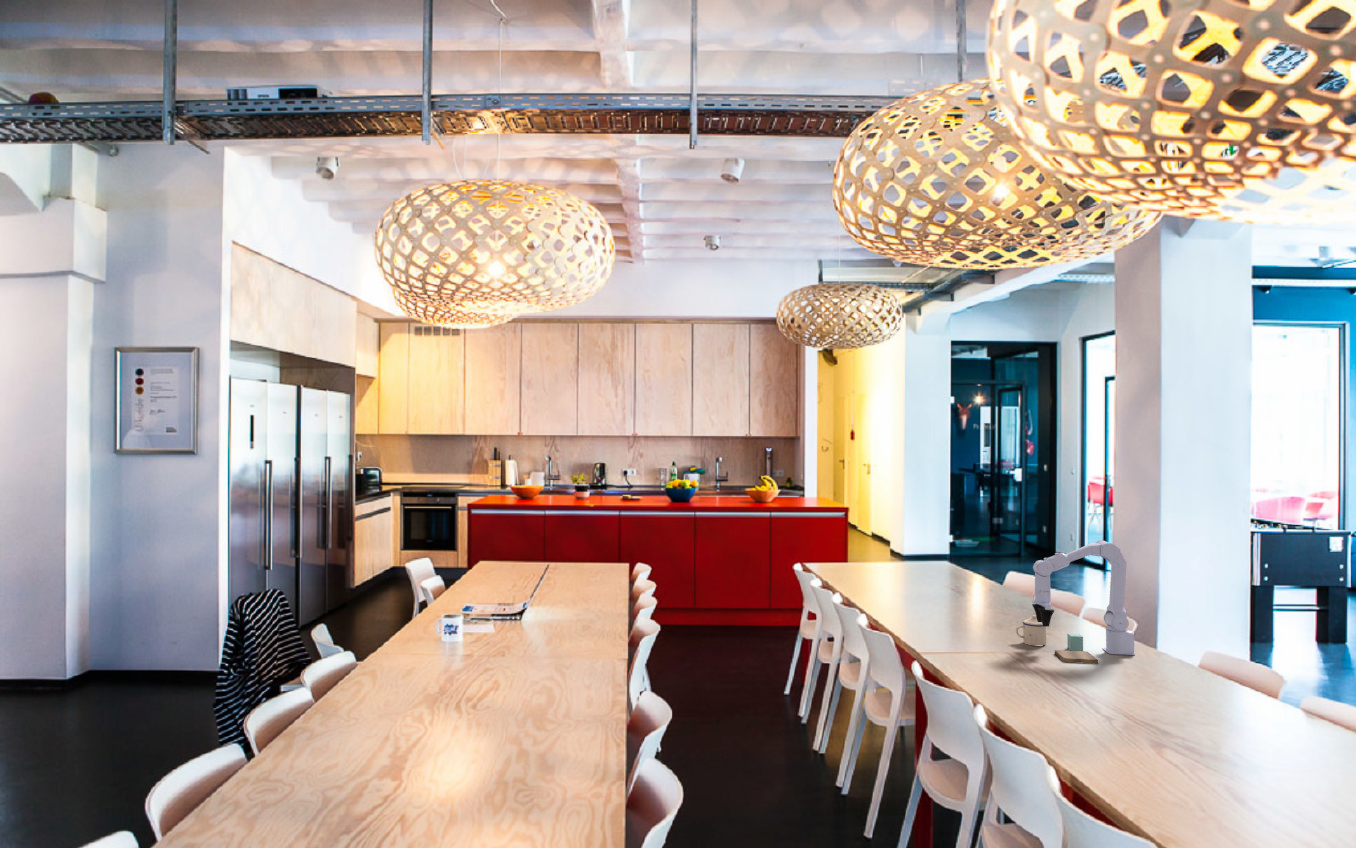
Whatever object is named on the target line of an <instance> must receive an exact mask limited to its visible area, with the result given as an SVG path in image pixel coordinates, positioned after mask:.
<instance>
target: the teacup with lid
mask: <svg viewBox="0 0 1356 848" xmlns="http://www.w3.org/2000/svg"><path fill="white" fill-rule="evenodd" d="M1021 628H1022V629H1023V630H1022V631H1023V632H1022V633H1023V635H1020V633H1019V629H1021ZM1015 634H1016V635H1017V637H1019V638H1021V639H1023V644H1025V645H1027V644H1028V645H1027V646H1030V645H1045V646H1046V645H1047V627H1045V626H1043V624H1042V622H1038V621H1037V617H1036V614H1035V615H1034V614H1033V615H1031V617H1029V618H1028V619H1024V620H1023V621H1022V625H1018V626H1017V627H1016V628H1015Z"/></svg>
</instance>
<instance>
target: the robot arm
mask: <svg viewBox="0 0 1356 848" xmlns="http://www.w3.org/2000/svg"><path fill="white" fill-rule="evenodd" d="M1089 556H1095V557H1101V558H1103V559H1105V560H1106V561H1107V562H1108V563H1109V565H1111V568H1110V582H1109V583H1110V585H1109V604H1108V605H1107V607H1106V611H1105V613H1104V615H1103V621H1104V623H1105V624H1106V626H1105V647H1102V648H1101V649H1102V650H1103V651H1105V652H1106V653H1107V654H1108V655H1122V656H1123V655H1126V656H1127V655H1128V656H1135V655H1136V653H1135V637H1134V633H1133V631H1132V630H1129V629H1128V628H1129V625H1130V623H1129V622H1130V621H1129V620H1128V616H1127V613H1128V612H1127V611H1126V608H1125V599H1126V581H1127V580H1126V579H1127V578H1126V577H1127V560H1126V559H1125V556H1124V555H1123V553H1122V552H1121V548H1119V546H1117V545H1115V544H1114V543H1111V542H1108V541H1105V540H1097V541H1093V542H1091V543H1089V544H1086V545H1084V546H1082V547H1080V548H1077V549H1075V550H1072V551H1071V552H1068V553H1063V552H1055V553H1054V555H1052V556H1049V557H1044V558H1043V560H1042V559H1040V560H1036V561H1035V563H1033V566H1032V569H1033V572H1034V600H1031V603H1032V604H1031V605H1032V608H1033V610H1034V611H1035V616H1036V617H1037V621H1038V622H1042V624H1043V626H1045V627H1046V628H1047V627H1048V628H1049V627H1050V624H1051V621H1052V620H1051V619H1052V616H1053V614H1054V612H1055V609H1052V608H1051V607H1052V606H1051V605H1052V599H1051V598H1052V597H1051V595H1052V594H1051V575H1052V573H1054V572H1057V571H1059V570H1062V569H1063V568H1066V567H1067V568H1068V567H1069V565H1070V563H1071V562H1074V561H1076V560H1079V559H1082V558H1085V557H1089ZM1127 629H1128V630H1127Z"/></svg>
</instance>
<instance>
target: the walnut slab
mask: <svg viewBox="0 0 1356 848" xmlns="http://www.w3.org/2000/svg"><path fill="white" fill-rule="evenodd" d="M1054 654H1055V656H1057V657H1058V656H1059V657H1060V658H1061V659H1062V660H1063V661H1062V660H1061V659H1060V658H1059V657H1058V658H1059V659H1060V660H1061V661H1062V662H1063V663H1071V662H1083V663H1082V664H1093V663H1095V664H1099V659H1098V658H1097V657H1095V656H1094V655H1093V654H1091V653H1090V652H1089V651H1086V650H1085V651H1084V650H1083V651H1070V650H1062V649H1061V650H1060V649H1054Z"/></svg>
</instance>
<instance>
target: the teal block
mask: <svg viewBox="0 0 1356 848" xmlns="http://www.w3.org/2000/svg"><path fill="white" fill-rule="evenodd" d="M1066 635H1067V649H1068V648H1069V649H1070V650H1071V651H1084V636H1083V635H1082V634H1080V633H1067V634H1066ZM1069 649H1068V650H1069ZM1070 650H1069V651H1070Z"/></svg>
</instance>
